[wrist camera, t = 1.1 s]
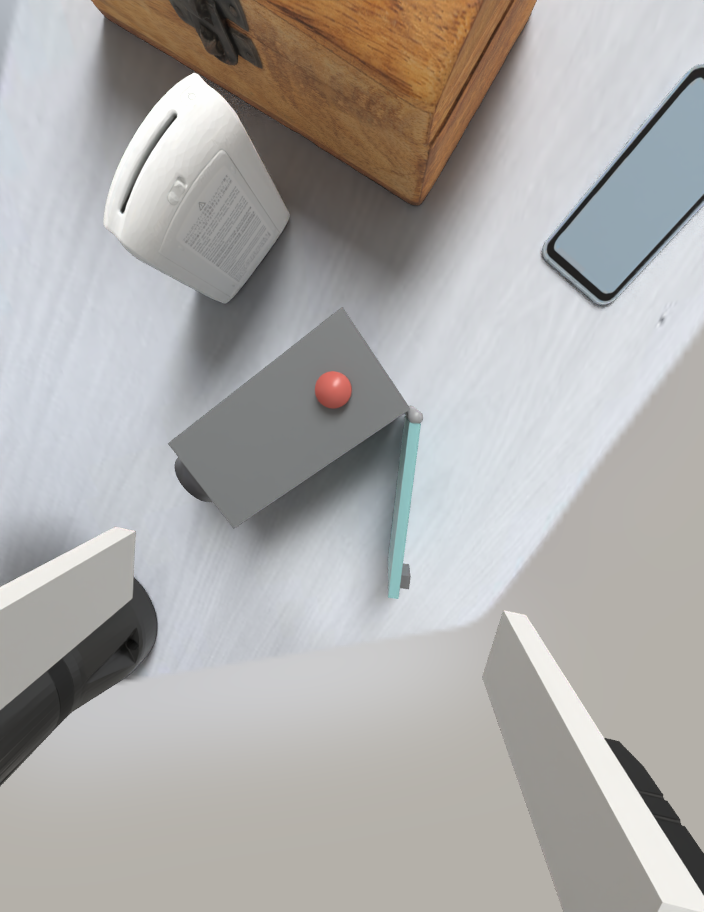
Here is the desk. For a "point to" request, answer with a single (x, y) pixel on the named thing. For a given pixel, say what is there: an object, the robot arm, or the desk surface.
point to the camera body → (287, 421)
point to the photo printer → (195, 194)
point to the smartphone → (636, 198)
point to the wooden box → (346, 69)
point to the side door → (403, 504)
